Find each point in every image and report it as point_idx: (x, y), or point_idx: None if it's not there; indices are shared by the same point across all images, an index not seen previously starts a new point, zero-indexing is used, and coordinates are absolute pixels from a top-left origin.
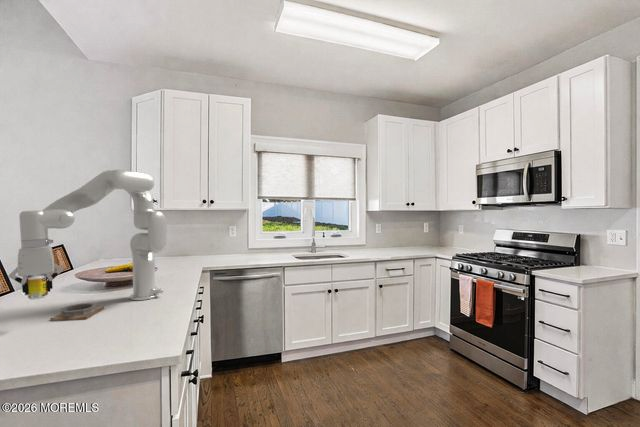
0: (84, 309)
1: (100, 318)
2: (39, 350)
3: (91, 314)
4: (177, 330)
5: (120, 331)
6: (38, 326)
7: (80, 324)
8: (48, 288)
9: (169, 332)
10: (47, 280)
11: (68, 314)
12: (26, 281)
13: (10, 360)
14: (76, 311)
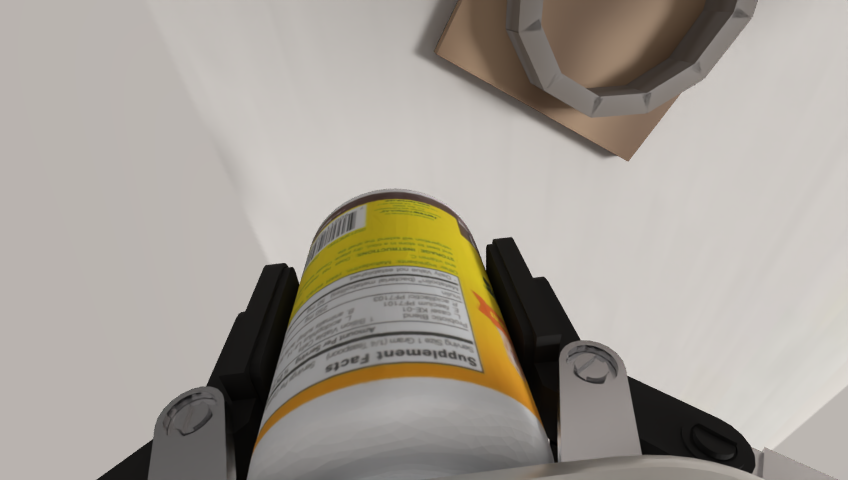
0: (657, 98)
1: (678, 180)
2: None
3: (666, 107)
4: (775, 434)
5: (664, 384)
6: (381, 147)
7: (575, 234)
8: None
9: (752, 439)
10: (526, 351)
11: (550, 94)
12: (245, 429)
13: None
14: (603, 115)
